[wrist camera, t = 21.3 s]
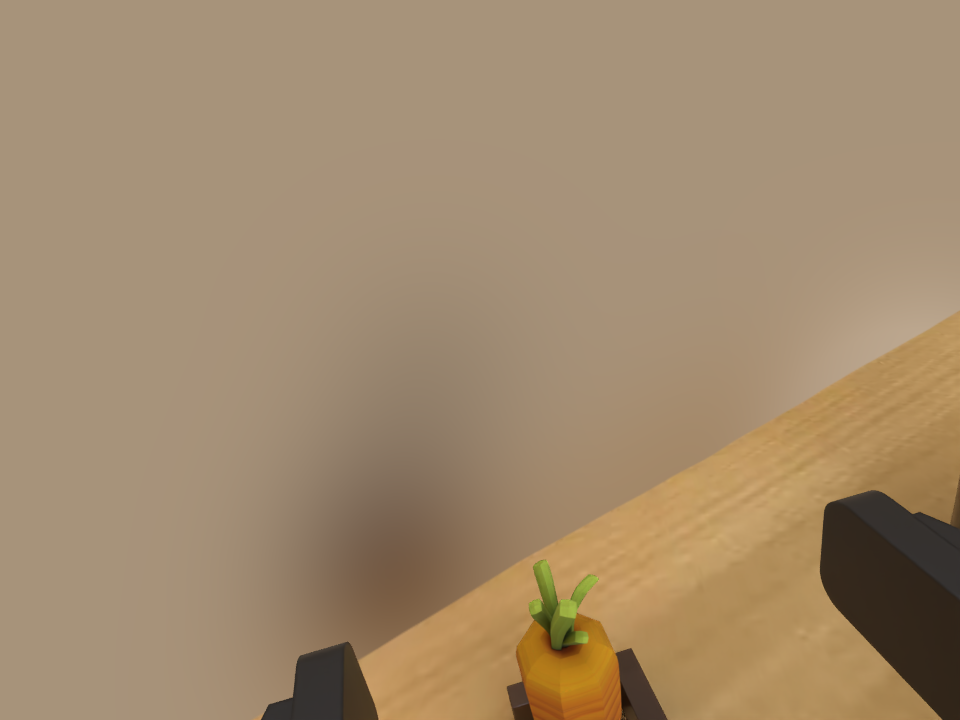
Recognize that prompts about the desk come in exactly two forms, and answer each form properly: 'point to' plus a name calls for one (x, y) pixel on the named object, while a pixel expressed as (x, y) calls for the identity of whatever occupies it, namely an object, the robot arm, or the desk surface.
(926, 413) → the desk surface
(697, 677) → the desk surface
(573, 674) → the carrot
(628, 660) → the corner stop
